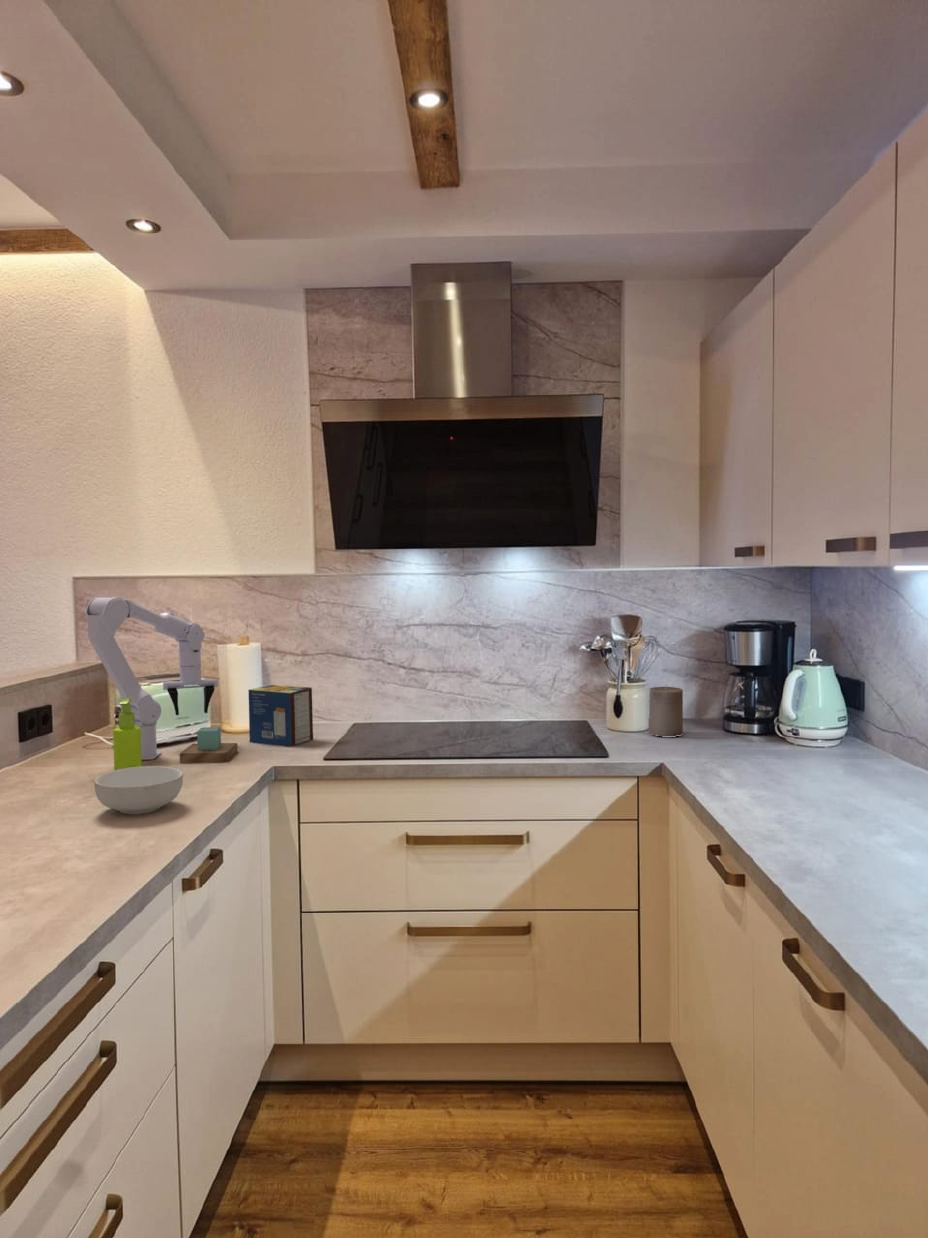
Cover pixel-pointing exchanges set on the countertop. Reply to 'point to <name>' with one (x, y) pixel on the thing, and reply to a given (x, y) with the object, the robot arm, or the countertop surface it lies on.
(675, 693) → the pillar candle
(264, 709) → the protein box
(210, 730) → the teal cube
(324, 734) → the countertop surface
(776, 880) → the countertop surface
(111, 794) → the cereal bowl
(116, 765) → the soap dispenser
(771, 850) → the countertop surface
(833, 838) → the countertop surface
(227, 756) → the walnut base
